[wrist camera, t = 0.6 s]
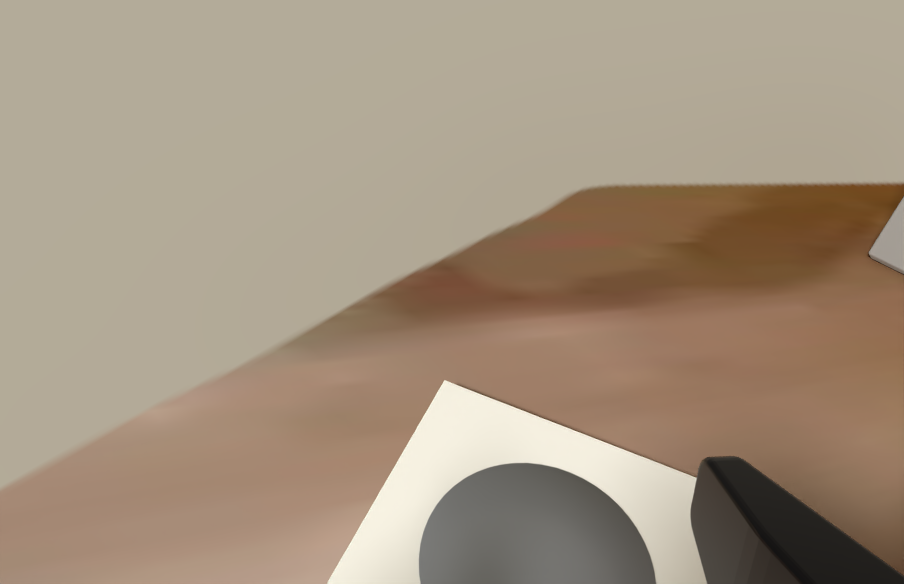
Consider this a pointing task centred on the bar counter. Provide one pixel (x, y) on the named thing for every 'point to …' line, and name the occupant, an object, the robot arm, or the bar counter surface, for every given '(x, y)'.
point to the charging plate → (521, 507)
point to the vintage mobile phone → (891, 242)
